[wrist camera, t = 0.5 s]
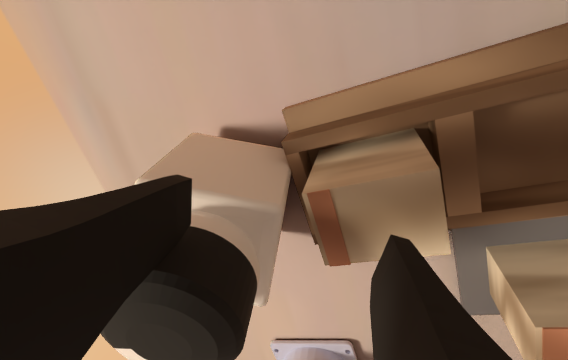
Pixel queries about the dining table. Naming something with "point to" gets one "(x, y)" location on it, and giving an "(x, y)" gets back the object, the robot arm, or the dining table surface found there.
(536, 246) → the birch block
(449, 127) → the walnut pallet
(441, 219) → the block
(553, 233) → the charcoal mat
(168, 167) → the medicine bottle
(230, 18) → the dining table surface
